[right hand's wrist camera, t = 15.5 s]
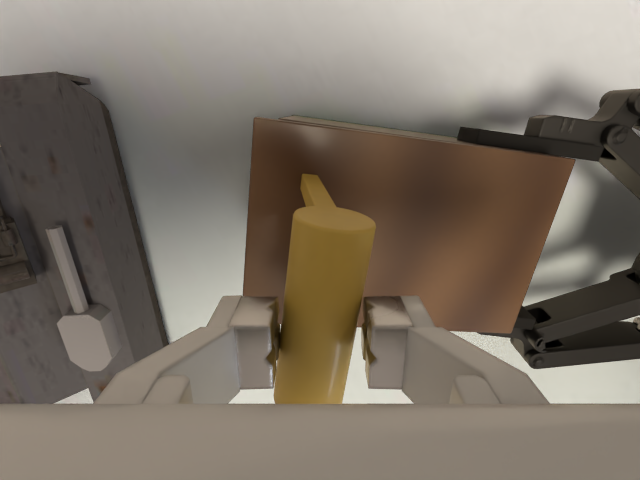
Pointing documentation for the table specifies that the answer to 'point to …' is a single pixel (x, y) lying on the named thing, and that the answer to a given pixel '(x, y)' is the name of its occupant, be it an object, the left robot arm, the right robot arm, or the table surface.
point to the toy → (67, 246)
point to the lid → (387, 237)
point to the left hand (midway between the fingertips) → (443, 225)
